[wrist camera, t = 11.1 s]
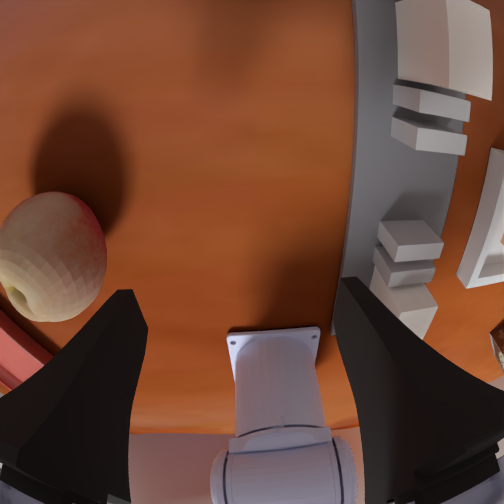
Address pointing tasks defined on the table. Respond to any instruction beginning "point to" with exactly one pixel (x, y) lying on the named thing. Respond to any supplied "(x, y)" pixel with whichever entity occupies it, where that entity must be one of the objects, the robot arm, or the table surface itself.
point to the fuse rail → (397, 159)
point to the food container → (498, 344)
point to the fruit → (52, 256)
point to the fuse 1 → (406, 303)
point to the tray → (486, 230)
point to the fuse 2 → (445, 45)
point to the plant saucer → (18, 354)
